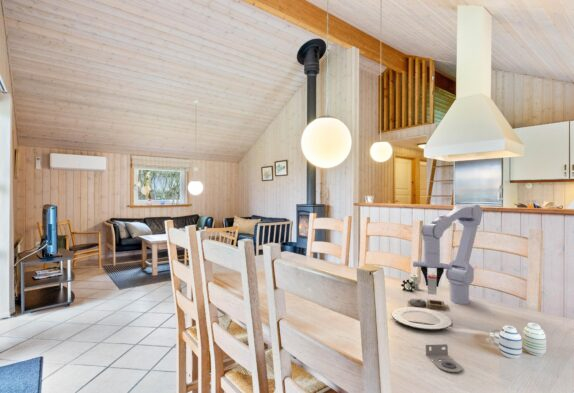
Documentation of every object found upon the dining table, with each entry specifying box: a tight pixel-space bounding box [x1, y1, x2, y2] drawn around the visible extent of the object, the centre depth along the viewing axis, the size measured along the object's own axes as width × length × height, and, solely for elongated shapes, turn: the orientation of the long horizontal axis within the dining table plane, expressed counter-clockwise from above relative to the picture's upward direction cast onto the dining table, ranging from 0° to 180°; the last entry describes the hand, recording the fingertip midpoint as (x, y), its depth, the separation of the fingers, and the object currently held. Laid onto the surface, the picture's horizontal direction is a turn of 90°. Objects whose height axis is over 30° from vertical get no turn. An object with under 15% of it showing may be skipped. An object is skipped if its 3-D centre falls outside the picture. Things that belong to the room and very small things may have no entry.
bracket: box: [425, 343, 463, 373], centre depth 88 cm, size 7×10×4 cm, turn 2°
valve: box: [400, 274, 420, 293], centre depth 156 cm, size 7×7×12 cm
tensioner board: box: [407, 298, 451, 312], centre depth 131 cm, size 8×16×3 cm, turn 68°
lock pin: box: [427, 273, 438, 296], centre depth 128 cm, size 3×3×7 cm
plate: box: [391, 306, 452, 331], centre depth 118 cm, size 21×21×2 cm
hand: (432, 285), depth 128 cm, fingers closed on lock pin, 3 cm apart
